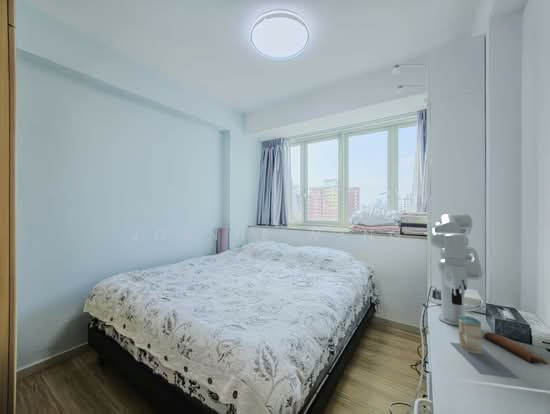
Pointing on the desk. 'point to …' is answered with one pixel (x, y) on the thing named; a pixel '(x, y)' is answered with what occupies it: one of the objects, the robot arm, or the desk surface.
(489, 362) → the charcoal mat
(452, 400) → the desk surface
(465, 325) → the wooden block
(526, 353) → the sunglasses case
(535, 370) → the desk surface
